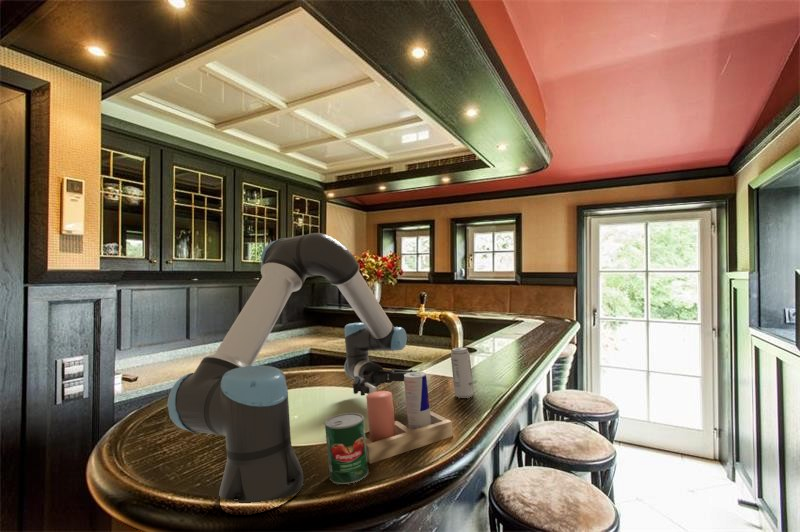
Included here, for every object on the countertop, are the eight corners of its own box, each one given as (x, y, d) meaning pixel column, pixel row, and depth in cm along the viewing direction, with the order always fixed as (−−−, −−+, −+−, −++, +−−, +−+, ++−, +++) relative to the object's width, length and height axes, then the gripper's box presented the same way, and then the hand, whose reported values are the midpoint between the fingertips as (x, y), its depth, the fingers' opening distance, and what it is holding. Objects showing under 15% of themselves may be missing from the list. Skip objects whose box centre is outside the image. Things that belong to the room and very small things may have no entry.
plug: (377, 455, 83) (372, 400, 83) (367, 446, 88) (362, 395, 89) (401, 447, 86) (396, 394, 86) (390, 439, 91) (385, 389, 91)
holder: (370, 463, 79) (368, 446, 79) (354, 448, 88) (353, 433, 88) (453, 436, 89) (451, 421, 89) (432, 424, 98) (430, 411, 98)
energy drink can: (475, 398, 115) (470, 349, 116) (456, 400, 115) (451, 351, 116) (472, 392, 121) (467, 346, 122) (453, 394, 122) (449, 348, 122)
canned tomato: (353, 461, 81) (349, 410, 82) (376, 472, 75) (371, 417, 76) (321, 476, 76) (317, 421, 76) (343, 489, 70) (338, 430, 71)
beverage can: (430, 440, 88) (424, 376, 89) (407, 440, 89) (401, 377, 90) (433, 430, 94) (427, 370, 94) (411, 431, 95) (405, 371, 95)
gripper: (404, 377, 125) (438, 391, 107) (332, 394, 114) (356, 412, 95) (402, 355, 126) (436, 364, 107) (330, 369, 114) (353, 382, 96)
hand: (398, 387), depth 101 cm, fingers open, 13 cm apart
